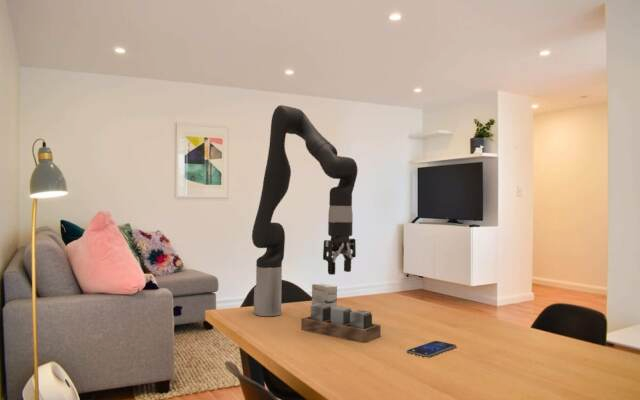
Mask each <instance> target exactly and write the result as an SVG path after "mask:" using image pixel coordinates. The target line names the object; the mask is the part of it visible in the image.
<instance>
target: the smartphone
mask: <svg viewBox="0 0 640 400" xmlns="http://www.w3.org/2000/svg"><path fill="white" fill-rule="evenodd" d="M454 348H455V349H457V345H456V344H453V343H448V342H444V341H439V340H433V341H430V342H427V343H424V344H420V345H418V346H415V347H413V348H410V349H407V350H406V351H405V353H406V352H407V354H409V353H411V354H410V355H413V354H417V355H418V357H420V356H422V357H421V358H424V357H430V358H433V357H435V356H434V355H436V356H438V355H441V354H443V352H444V353H446V351H447V352H449V351H452V350H455V349H454ZM440 353H441V354H440ZM417 355H416V356H417ZM432 356H433V357H432Z"/></svg>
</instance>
